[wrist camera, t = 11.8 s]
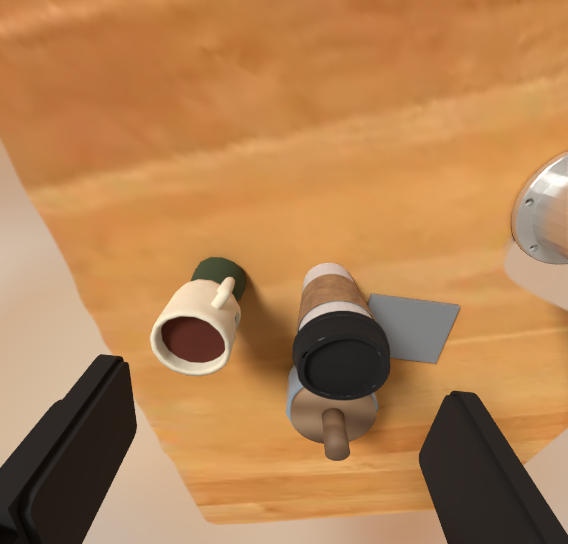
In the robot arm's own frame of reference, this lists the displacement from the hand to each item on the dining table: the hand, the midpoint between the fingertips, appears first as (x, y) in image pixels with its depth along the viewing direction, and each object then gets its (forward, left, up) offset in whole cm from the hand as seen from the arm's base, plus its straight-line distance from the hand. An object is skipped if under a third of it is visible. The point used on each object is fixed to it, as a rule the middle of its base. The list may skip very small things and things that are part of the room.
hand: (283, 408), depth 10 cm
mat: (-17, +15, -28) cm, 36 cm away
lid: (-9, +26, -23) cm, 36 cm away
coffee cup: (-6, +10, -28) cm, 31 cm away
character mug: (+7, +11, -28) cm, 31 cm away
